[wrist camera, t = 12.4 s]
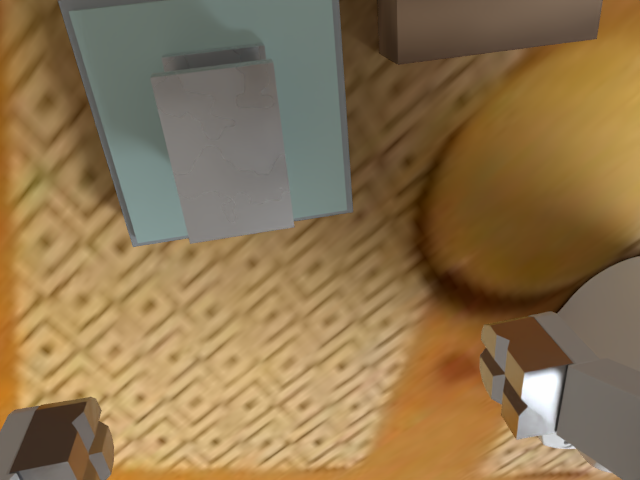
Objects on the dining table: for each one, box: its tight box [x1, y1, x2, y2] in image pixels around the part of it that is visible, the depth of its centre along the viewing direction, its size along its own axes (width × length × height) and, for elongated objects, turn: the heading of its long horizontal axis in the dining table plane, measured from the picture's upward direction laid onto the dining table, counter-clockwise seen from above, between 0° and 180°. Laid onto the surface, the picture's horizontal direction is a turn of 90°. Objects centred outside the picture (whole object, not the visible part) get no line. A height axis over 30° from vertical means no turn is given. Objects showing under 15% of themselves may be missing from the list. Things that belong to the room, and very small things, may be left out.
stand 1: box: [58, 0, 353, 247], centre depth 31 cm, size 14×14×4 cm
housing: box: [150, 43, 294, 244], centre depth 27 cm, size 8×5×6 cm, turn 5°
